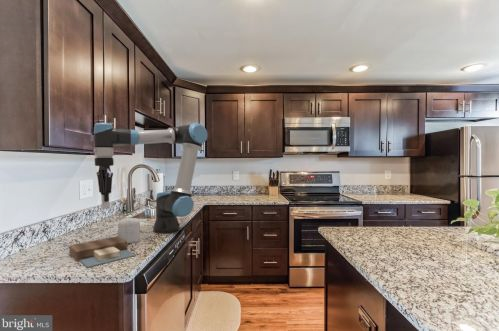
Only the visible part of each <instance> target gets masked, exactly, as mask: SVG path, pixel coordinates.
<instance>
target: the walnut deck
mask: <svg viewBox="0 0 499 331" xmlns="http://www.w3.org/2000/svg"><path fill="white" fill-rule="evenodd" d="M110 247H115V248H117V249H118V250H120V251H122V250H127V251H128V243H127V241H125V240H123V239H122V238H120V237H118V235H117V236H112V237H107V238H101V239H96V240H91V241H85V242H79V243H75V244H70V245H69V248H68V250H69V253H68V254H69V255H70V257H72V258H73V260H75V262H80V260H83V259H87V258H91V257H94V251H95V250H100V249H105V248H110Z"/></svg>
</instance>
